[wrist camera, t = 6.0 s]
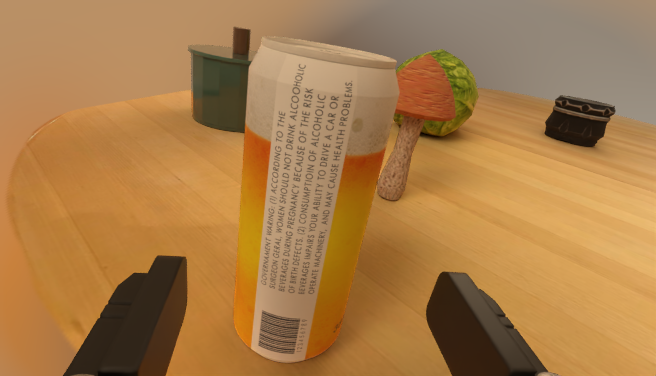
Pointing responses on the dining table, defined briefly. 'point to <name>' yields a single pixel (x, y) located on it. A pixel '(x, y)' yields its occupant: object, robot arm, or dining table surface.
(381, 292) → the dining table surface
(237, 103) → the pot
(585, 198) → the dining table surface
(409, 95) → the mushroom
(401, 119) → the lettuce
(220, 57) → the pot lid
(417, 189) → the dining table surface
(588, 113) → the container
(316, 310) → the beer can
